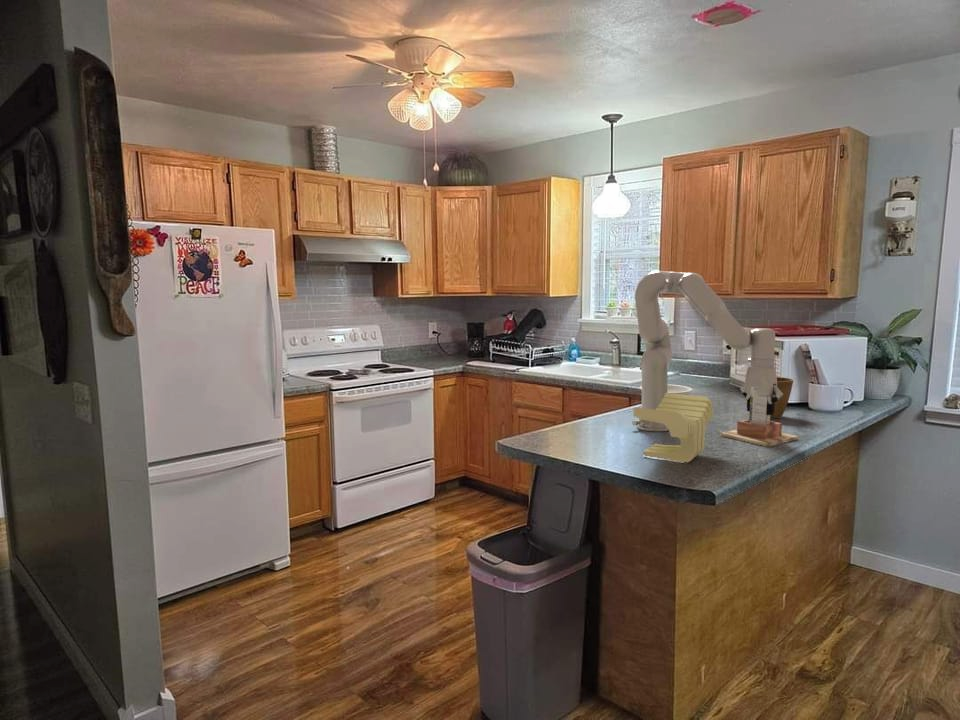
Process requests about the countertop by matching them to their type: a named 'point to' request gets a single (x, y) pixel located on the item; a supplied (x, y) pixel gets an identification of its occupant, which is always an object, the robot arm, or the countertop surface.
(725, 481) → the countertop surface
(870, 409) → the countertop surface
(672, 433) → the slatted curved stool
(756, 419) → the syrup box
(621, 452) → the countertop surface
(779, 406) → the plant pot
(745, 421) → the terracotta box on board
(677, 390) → the soup bowl
